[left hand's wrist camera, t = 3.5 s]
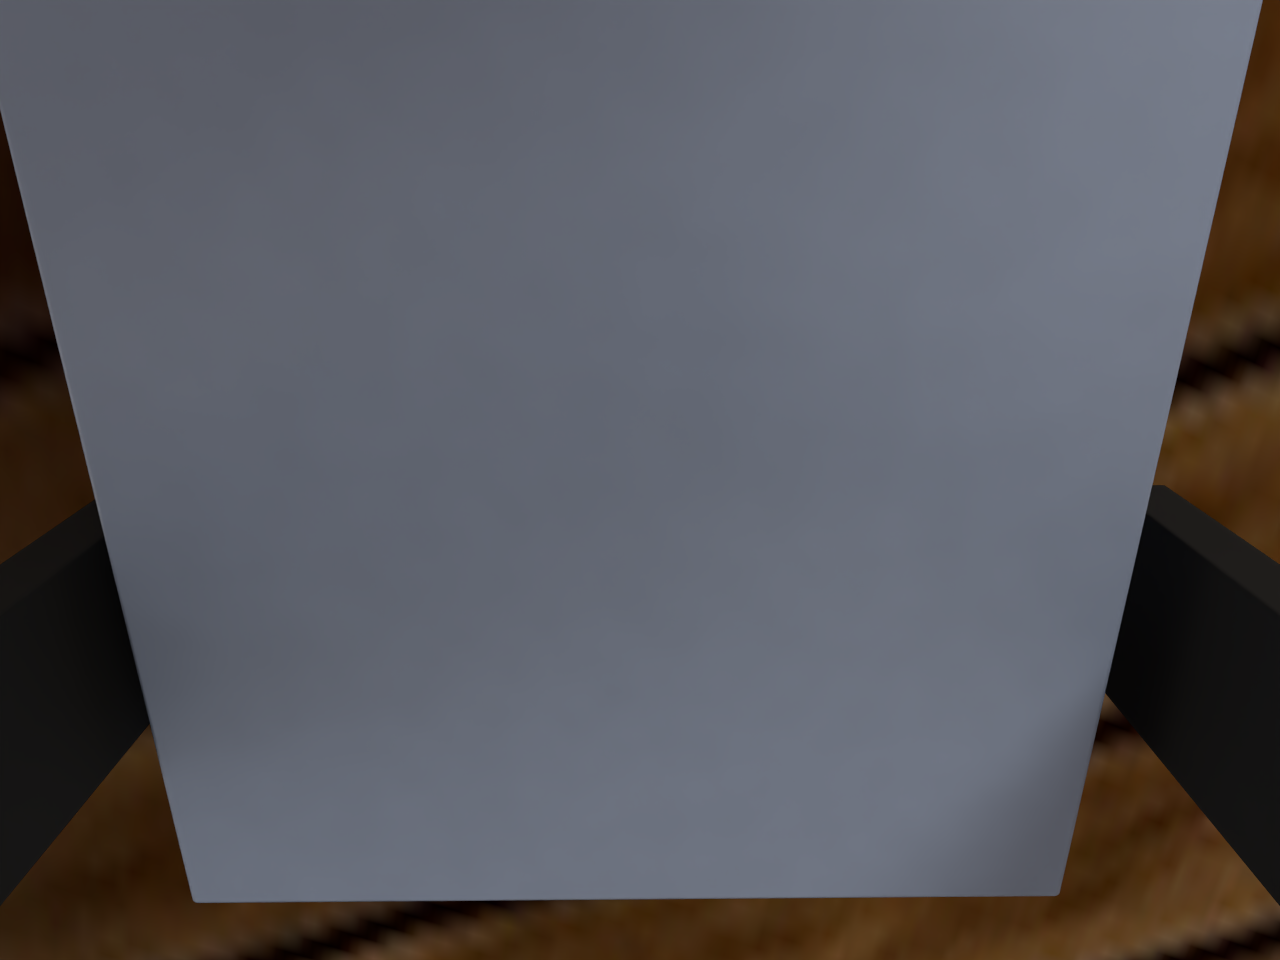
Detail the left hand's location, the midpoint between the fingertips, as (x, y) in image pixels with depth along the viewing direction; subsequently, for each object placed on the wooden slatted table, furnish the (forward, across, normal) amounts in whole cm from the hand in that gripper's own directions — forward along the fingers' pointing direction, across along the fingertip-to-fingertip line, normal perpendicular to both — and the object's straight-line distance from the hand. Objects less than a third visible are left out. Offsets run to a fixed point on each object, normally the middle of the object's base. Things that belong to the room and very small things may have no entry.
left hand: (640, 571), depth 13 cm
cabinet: (+7, 0, -6) cm, 9 cm away
